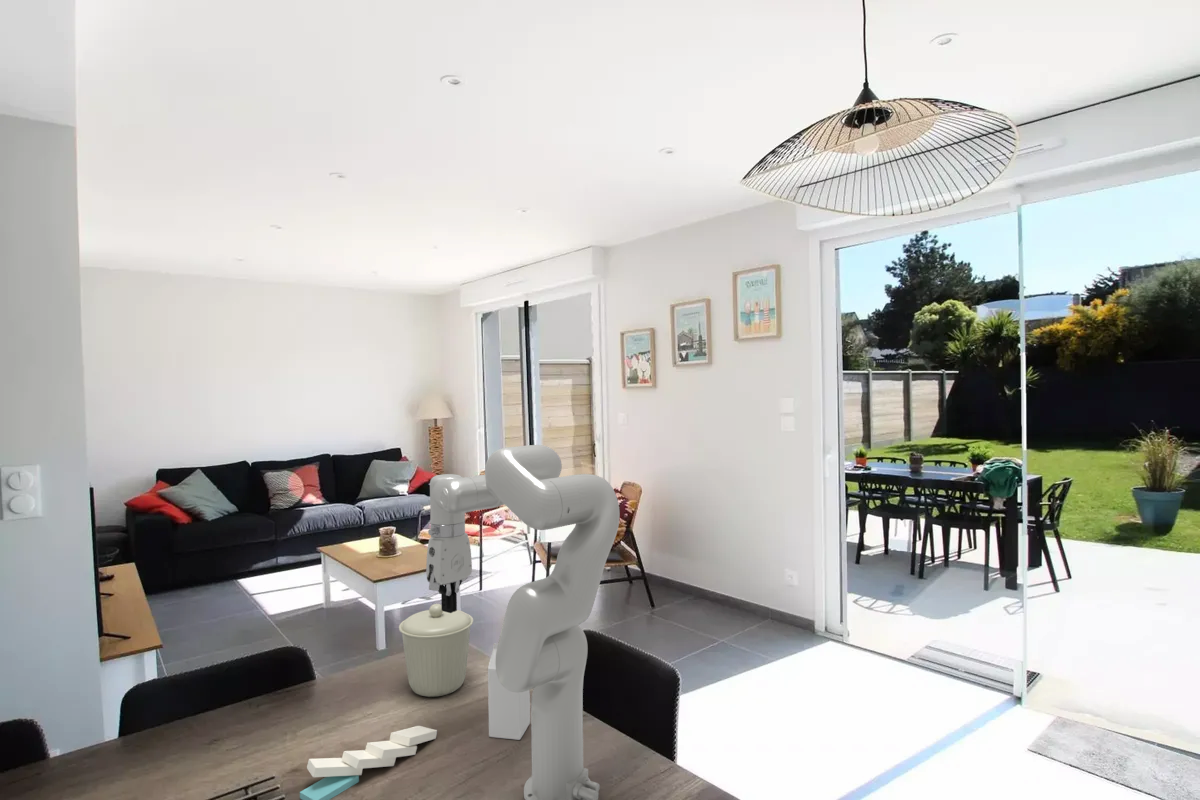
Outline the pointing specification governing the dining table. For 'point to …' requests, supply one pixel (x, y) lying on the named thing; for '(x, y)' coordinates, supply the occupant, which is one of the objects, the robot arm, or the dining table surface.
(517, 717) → the milk carton
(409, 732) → the domino
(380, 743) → the domino
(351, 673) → the dining table surface
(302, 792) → the domino
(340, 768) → the domino
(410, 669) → the canister
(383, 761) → the domino
